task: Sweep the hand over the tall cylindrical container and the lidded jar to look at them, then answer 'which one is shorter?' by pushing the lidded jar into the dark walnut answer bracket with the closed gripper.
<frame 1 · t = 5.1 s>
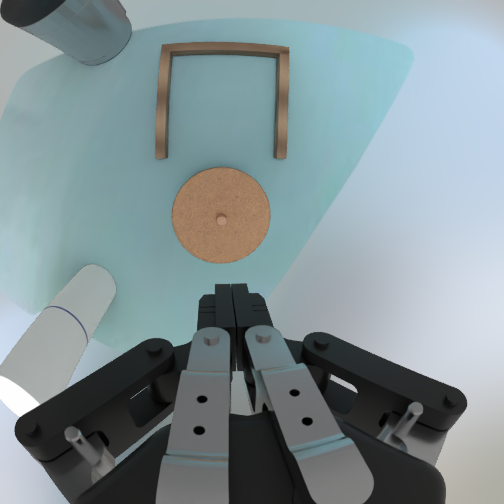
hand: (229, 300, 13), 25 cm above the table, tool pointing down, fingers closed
answer bracket: (222, 101, 31), on the table
cylindrical container: (96, 284, 38), on the table
lidded jar: (220, 204, 36), on the table
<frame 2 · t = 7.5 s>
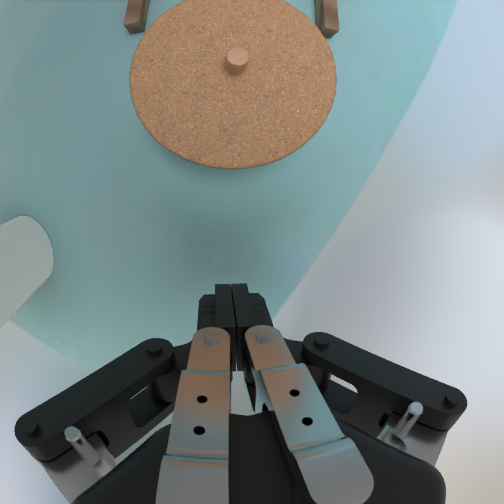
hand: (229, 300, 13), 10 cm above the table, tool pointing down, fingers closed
cylindrical container: (28, 250, 20), on the table
lidded jar: (228, 95, 18), on the table
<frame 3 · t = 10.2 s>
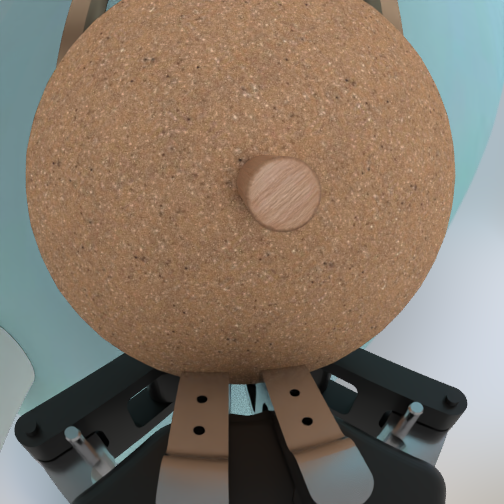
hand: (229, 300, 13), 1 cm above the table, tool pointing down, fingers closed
cylindrical container: (4, 353, 14), on the table
lidded jar: (234, 164, 12), on the table, touching gripper, hand
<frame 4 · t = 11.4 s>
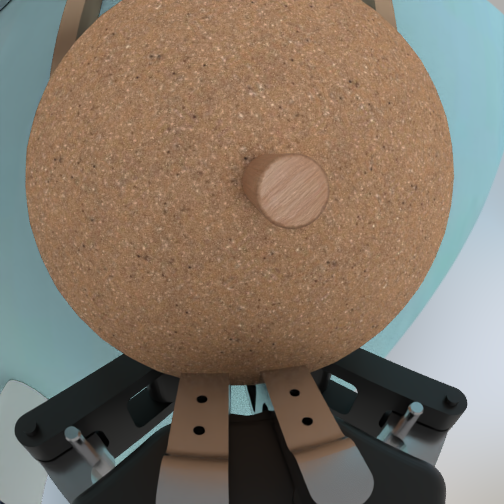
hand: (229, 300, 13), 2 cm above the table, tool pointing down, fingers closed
answer bracket: (228, 44, 10), on the table
cylindrical container: (34, 404, 17), on the table
lidded jar: (232, 166, 12), on the table, touching gripper, hand
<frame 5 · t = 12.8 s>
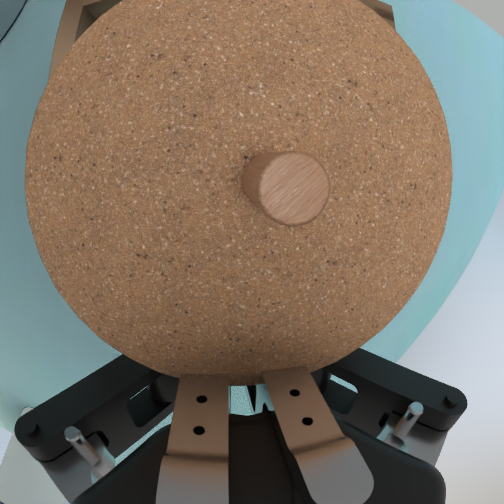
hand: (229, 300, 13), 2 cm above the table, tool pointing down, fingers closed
answer bracket: (222, 127, 12), on the table
cylindrical container: (50, 426, 18), on the table
lidded jar: (231, 167, 12), on the table, touching gripper, hand
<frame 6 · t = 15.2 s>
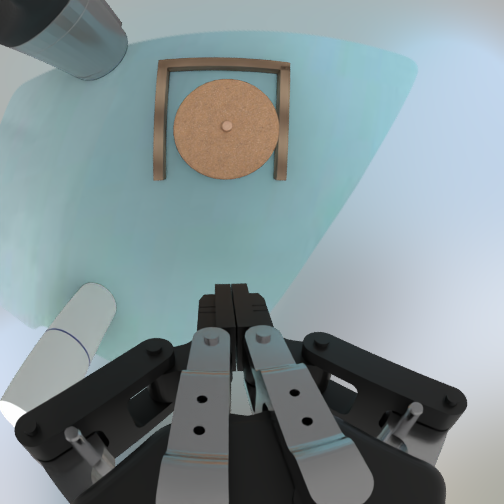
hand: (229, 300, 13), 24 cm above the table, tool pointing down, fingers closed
answer bracket: (221, 119, 32), on the table
cylindrical container: (96, 302, 38), on the table
lidded jar: (224, 134, 33), on the table
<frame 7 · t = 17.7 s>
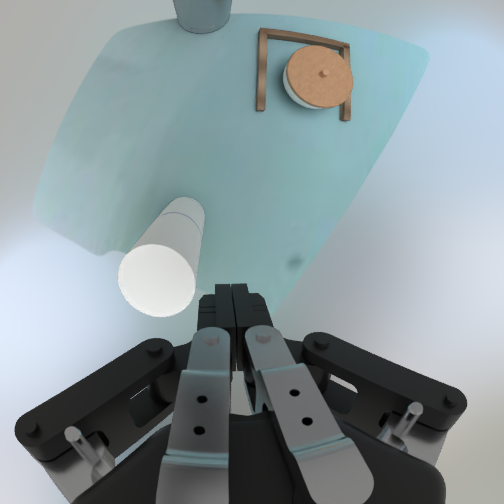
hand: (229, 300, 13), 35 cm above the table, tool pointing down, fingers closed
answer bracket: (303, 75, 40), on the table
cylindrical container: (184, 217, 46), on the table
lidded jar: (305, 85, 41), on the table
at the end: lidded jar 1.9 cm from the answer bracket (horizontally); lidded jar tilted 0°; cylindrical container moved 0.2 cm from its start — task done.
